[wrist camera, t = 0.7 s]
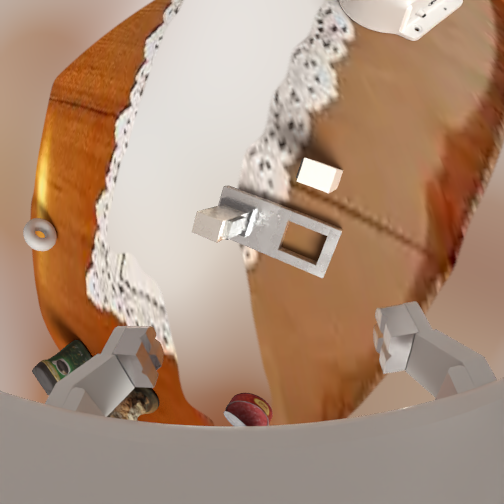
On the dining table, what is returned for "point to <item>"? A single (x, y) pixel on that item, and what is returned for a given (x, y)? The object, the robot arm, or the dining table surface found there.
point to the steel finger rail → (263, 228)
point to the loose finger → (318, 175)
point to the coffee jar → (61, 365)
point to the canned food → (248, 411)
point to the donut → (36, 241)
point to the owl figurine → (136, 404)
